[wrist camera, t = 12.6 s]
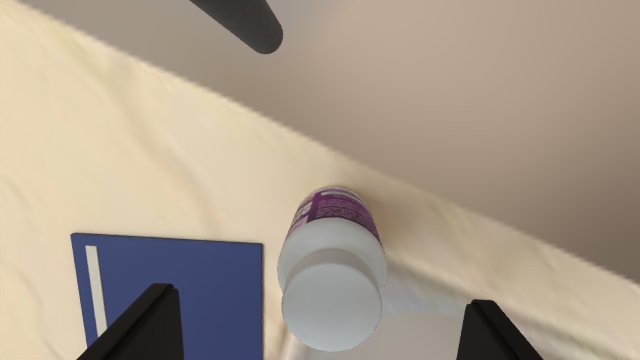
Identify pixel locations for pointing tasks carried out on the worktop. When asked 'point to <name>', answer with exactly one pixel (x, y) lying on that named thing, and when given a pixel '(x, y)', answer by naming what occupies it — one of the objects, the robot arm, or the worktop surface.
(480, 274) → the worktop surface
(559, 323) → the worktop surface
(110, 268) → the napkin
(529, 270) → the worktop surface
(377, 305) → the pill bottle
